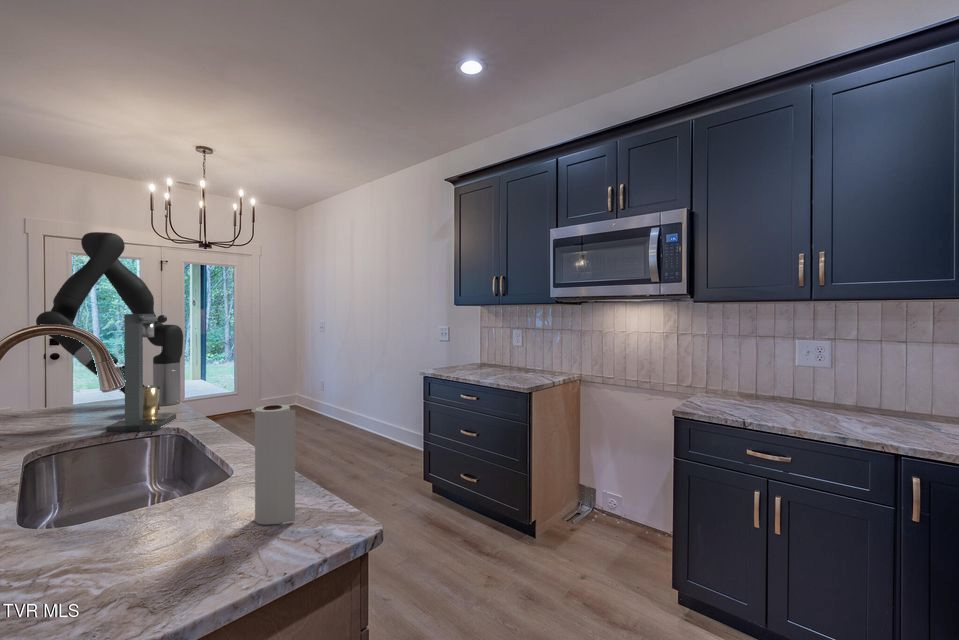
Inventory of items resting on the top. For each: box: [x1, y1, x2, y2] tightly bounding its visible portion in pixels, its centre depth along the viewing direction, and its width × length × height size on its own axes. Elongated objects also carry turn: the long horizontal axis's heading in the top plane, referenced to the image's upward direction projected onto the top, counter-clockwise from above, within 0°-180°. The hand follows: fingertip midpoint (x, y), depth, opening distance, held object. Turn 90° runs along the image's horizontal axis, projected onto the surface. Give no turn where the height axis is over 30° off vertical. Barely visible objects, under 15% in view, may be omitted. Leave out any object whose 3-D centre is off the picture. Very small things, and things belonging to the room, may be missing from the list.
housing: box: [143, 385, 159, 418], centre depth 150 cm, size 6×6×11 cm
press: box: [105, 313, 177, 433], centre depth 147 cm, size 15×16×38 cm
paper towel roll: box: [254, 404, 296, 526], centre depth 82 cm, size 7×6×21 cm
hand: (136, 390), depth 149 cm, fingers open, 8 cm apart
